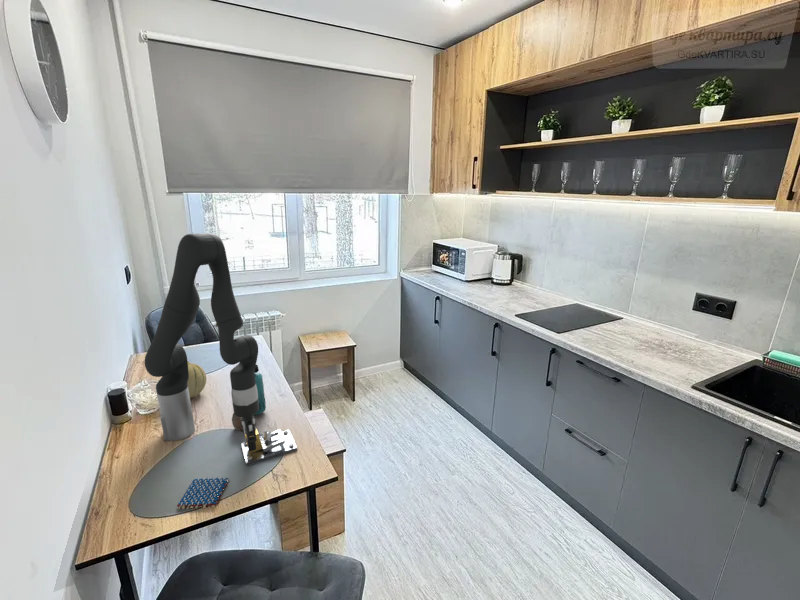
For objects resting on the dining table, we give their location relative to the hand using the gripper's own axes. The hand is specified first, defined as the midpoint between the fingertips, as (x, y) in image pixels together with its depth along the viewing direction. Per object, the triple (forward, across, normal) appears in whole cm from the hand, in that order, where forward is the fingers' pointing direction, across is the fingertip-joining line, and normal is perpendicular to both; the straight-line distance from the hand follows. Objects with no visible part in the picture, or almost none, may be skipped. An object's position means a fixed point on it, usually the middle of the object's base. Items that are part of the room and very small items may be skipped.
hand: (250, 442), depth 124 cm
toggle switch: (+4, 0, +6) cm, 7 cm away
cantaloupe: (+4, -49, -18) cm, 52 cm away
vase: (+4, -16, 0) cm, 17 cm away
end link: (+2, 0, +5) cm, 5 cm away
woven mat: (+5, +12, -14) cm, 19 cm away
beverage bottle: (+4, -23, +6) cm, 24 cm away
